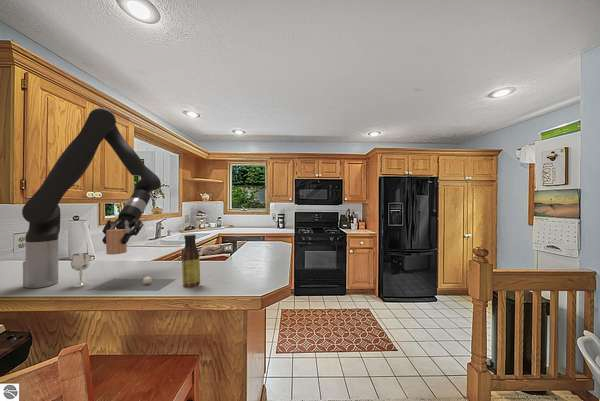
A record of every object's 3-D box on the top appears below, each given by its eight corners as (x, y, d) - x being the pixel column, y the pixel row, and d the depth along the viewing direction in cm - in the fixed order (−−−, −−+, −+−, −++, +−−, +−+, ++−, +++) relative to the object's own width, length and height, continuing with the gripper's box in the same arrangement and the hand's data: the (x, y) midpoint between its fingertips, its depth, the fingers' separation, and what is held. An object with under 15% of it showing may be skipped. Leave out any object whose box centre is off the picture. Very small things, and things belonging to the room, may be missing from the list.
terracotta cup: (102, 254, 101) (102, 230, 100) (114, 251, 107) (114, 228, 107) (119, 254, 100) (119, 230, 100) (130, 251, 107) (130, 228, 107)
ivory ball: (141, 285, 102) (141, 277, 102) (145, 283, 105) (145, 275, 105) (148, 285, 102) (148, 277, 102) (153, 283, 105) (153, 275, 105)
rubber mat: (86, 291, 97) (86, 290, 97) (113, 279, 111) (113, 278, 111) (158, 292, 97) (158, 290, 97) (176, 280, 111) (176, 279, 111)
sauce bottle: (203, 284, 105) (203, 234, 105) (190, 289, 99) (190, 236, 99) (191, 282, 108) (191, 233, 107) (178, 287, 102) (178, 235, 102)
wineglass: (79, 288, 100) (79, 256, 100) (66, 286, 102) (66, 255, 102) (93, 283, 106) (93, 253, 106) (82, 282, 107) (82, 252, 107)
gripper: (111, 204, 111) (89, 237, 99) (146, 204, 111) (127, 237, 99) (120, 216, 116) (100, 248, 105) (153, 216, 116) (136, 248, 105)
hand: (113, 243), depth 102 cm, fingers closed on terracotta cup, 6 cm apart
